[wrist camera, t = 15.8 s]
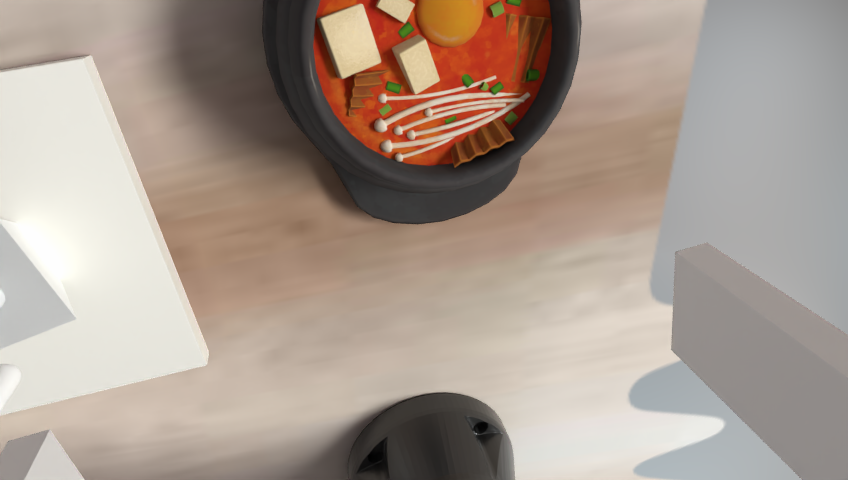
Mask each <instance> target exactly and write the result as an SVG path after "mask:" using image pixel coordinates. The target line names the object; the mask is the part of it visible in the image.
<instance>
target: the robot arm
mask: <svg viewBox="0 0 848 480" xmlns="http://www.w3.org/2000/svg"><path fill="white" fill-rule="evenodd" d="M671 350H672V351H673V352H674V353H675V354H676V355H677V356H678V357H679V358H680V359H681V360H682V361H683V362H684V363H685V364H686V365H687V366H688V367H689V368H690V369H691V370H692V371H693V372H694V373H695V374H696V375H697V376H698V377H699V378H700V379H701V380H702V381H703V382H704V383H705V384H706V385H707V386H708V387H709V388H710V389H711V390H712V391H713V392H714V393H715V394H716V395H717V396H718V397H719V398H720V399H721V400H722V401H724V403H725V404H726V405H727V406H728V407H729V408H730V409H732V410H733V412H734V413H735V414H737V416H738V417H739V418H741V420H742V421H743V422H745V423H746V424H747V425H748V426H749V427H750V428H751V429H752V430H753V431H754V432H755V433H756V434H757V435H758V436H759V437H760V438H761V439H762V440H763V441H764V442H765V443H766V444H767V445H768V446H769V447H770V448H771V449H772V450H773V451H774V452H775V453H776V454H777V455H778V456H779V457H780V458H781V459H782V460H783V461H784V462H785V463H786V464H787V465H788V466H789V467H790V468H791V469H792V470H793V471H794V472H795V473H796V474H797V475H798V476H799V477H800V478H801V479H802V480H848V335H847V334H846V333H844V332H843V331H841V330H840V329H838V328H837V327H835V326H834V325H832V324H831V323H829V322H827V321H826V320H824V319H823V318H821V317H820V316H818V315H817V314H815V313H814V312H812V311H811V310H809V309H808V308H806V307H804V306H803V305H802V304H800V303H799V302H797V301H795V300H794V299H792V298H791V297H789V296H788V295H786V294H785V293H783V292H782V291H780V290H779V289H777V288H776V287H774V286H773V285H771V284H770V283H768V282H766V281H765V280H763V279H762V278H760V277H759V276H757V275H756V274H754V273H752V272H751V271H750V270H748V269H747V268H745V267H744V266H742V265H741V264H739V263H737V262H736V261H734V260H733V259H731V258H730V257H728V256H727V255H725V254H724V253H722V252H721V251H719V250H718V249H716V248H715V247H713V246H711V245H710V244H708V243H704V244H700V245H697V246H693V247H690V248H686V249H683V250H680V251H676V252H675V272H674V296H673V321H672V345H671ZM348 475H349V480H515V471H514V457H513V449H512V445H511V441H510V439H509V436H508V434H507V432H506V430H505V428H504V426H503V424H502V422H501V420H500V418H499V416H498V415H497V414H496V413H495V412H494V411H493V410H492V409H491V408H490V407H489V406H487V405H486V404H484V403H483V402H481V401H479V400H477V399H474V398H472V397H468V396H464V395H459V394H447V393H442V394H431V395H425V396H420V397H417V398H413V399H410V400H407V401H405V402H402V403H400V404H398V405H396V406H394V407H392V408H390V409H388V410H387V411H385V412H384V413H382V414H381V415H379V416H378V417H377V418H376V419H374V420H373V421H372V422H371V423H370V424H369V425H368V426H367V427H366V428H365V429H364V430H363V432H362V433H361V434H360V436H359V437H358V438H357V440H356V442H355V444H354V446H353V448H352V450H351V453H350V456H349V461H348ZM0 480H85V479H84V478H83V477H82V475H81V474H80V472H79V471H78V469H77V468H76V466H75V465H74V464H73V462H72V461H71V459H70V458H69V456H68V455H67V453H66V452H65V451H64V449H63V448H62V446H61V445H60V443H59V442H58V440H57V439H56V438H55V436H54V435H53V433H52V432H51V430H46V431H43V432H39V433H36V434H32V435H29V436H25V437H22V438H18V439H15V440H11V441H8V442H7V444H6V446H5V447H4V449H3V451H2V453H1V454H0Z"/></svg>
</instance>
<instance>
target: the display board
mask: <svg viewBox="0 0 848 480" xmlns="http://www.w3.org/2000/svg"><path fill="white" fill-rule="evenodd" d="M0 219H3V220H7V221H11V222H15V223H17V224H18V226H19V227H20V228H21V229H22V231H23V232H24V233H25V235H26V236H27V237H28V238H29V240H30V241H31V242H32V244H33V245H34V246H35V247H36V249H37V250H38V251H39V253H40V254H41V255H42V256H43V258H44V259H45V260H46V262H47V263H48V264H49V265H50V267H51V268H52V269H53V271H54V272H55V273H56V274H57V276H58V277H59V278H60V280H61V282H62V285H63V287H64V289H65V292H66V294H67V297H68V299H69V302H70V304H71V306H72V309H73V311H74V314H75V316H76V318H77V319H76V320H73V321H71V322H68V323H66V324H63V325H61V326H58V327H56V328H53V329H50V330H48V331H45V332H43V333H40V334H38V335H35V336H33V337H30V338H28V339H25V340H23V341H20V342H17V343H15V344H12V345H10V346H7V347H5V348H2V349H0V364H11V365H14V366H16V367H18V368H19V370H20V371H21V379H20V382H19V384H18V385H17V387H16V388H15V390H14V392H13V393H12V395H11V396H10V398H9V399H8V401H7V402H6V404H5V406H4V407H3V409H2V410H1V412H0V415H4V414H8V413H13V412H17V411H21V410H25V409H29V408H33V407H37V406H41V405H45V404H49V403H54V402H58V401H62V400H66V399H70V398H74V397H78V396H82V395H86V394H91V393H95V392H99V391H103V390H107V389H111V388H115V387H119V386H123V385H128V384H132V383H136V382H140V381H144V380H148V379H152V378H156V377H160V376H164V375H169V374H173V373H177V372H181V371H185V370H189V369H193V368H197V367H201V366H206V365H207V362H208V357H209V351H208V348H207V346H206V343H205V341H204V338H203V336H202V333H201V331H200V328H199V326H198V323H197V321H196V318H195V316H194V313H193V311H192V308H191V306H190V303H189V301H188V298H187V296H186V293H185V290H184V288H183V285H182V283H181V280H180V278H179V275H178V273H177V270H176V268H175V265H174V263H173V260H172V258H171V255H170V253H169V250H168V248H167V245H166V243H165V240H164V238H163V235H162V233H161V230H160V227H159V225H158V222H157V220H156V217H155V215H154V212H153V210H152V207H151V205H150V202H149V200H148V197H147V195H146V192H145V190H144V187H143V185H142V182H141V180H140V177H139V175H138V172H137V169H136V167H135V164H134V162H133V159H132V157H131V154H130V152H129V149H128V147H127V144H126V142H125V139H124V137H123V134H122V132H121V129H120V127H119V124H118V122H117V119H116V117H115V114H114V111H113V109H112V106H111V104H110V101H109V99H108V96H107V94H106V91H105V89H104V86H103V84H102V81H101V79H100V76H99V74H98V71H97V69H96V66H95V64H94V61H93V59H92V56H91V55H88V56H82V57H76V58H70V59H64V60H58V61H52V62H46V63H40V64H34V65H28V66H22V67H16V68H10V69H4V70H0Z"/></svg>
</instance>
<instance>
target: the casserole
mask: <svg viewBox="0 0 848 480" xmlns="http://www.w3.org/2000/svg"><path fill="white" fill-rule="evenodd" d="M262 33H263V40H264V47H265V53H266V60H267V65H268V68H269V71H270V74H271V77H272V80H273V82H274V85H275V88H276V91H277V94H278V96H279V97H280V99H281V101H282V103H283V104H284V106H285V108H286V110H287V111H288V113H289V115H290V116H291V118H292V120H293V121H294V123H295V124H296V125H297V126H298V127H299V128H300V129H301V130H302V132H303V133H304V134H305V135H306V136H307V137H308V138H309V139H310V141H311V142H312V143H313V144H314V145H315V146H316V147H317V148H318V150H319V151H320V152H321V153H322V154H323V155H324V156H325V157H326V158H327V160H328V161H329V162H330V163H331V164H332V166H333V167H334V169H335V171H336V172H337V174H338V176H339V177H340V179H341V181H342V182H343V184H344V186H345V187H346V189H347V191H348V192H349V194H350V196H351V197H352V199H353V200H354V202H355V204H356V205H357V207H359V208H360V209H362V210H363V211H365V212H366V213H368V214H369V215H371V216H372V217H374V218H377V219H381V220H385V221H388V222H392V223H404V224H424V223H432V222H440V221H445V220H448V219H451V218H455V217H458V216H461V215H464V214H467V213H469V212H471V211H473V210H475V209H477V208H479V207H481V206H483V205H485V204H487V203H489V202H490V201H491V200H492V199H494V198H495V197H496V196H498V195H499V194H500V193H502V192H503V191H504V190H505V189H506V188H507V186H508V185H509V184H510V182H511V181H512V179H513V178H514V177H515V175H516V174H517V171H518V167H519V163H520V160H521V156H523V155H524V154H525V153H526V152H527V151H528V150H529V149H530V148H531V147H532V146H533V145H534V144H535V143H536V142H537V141H538V140H539V139H540V138H541V137H542V135H543V134H544V133H545V132H546V131H547V129H548V128H549V126H550V125H551V123H552V121H553V120H554V118H555V117H556V115H557V114H558V112H559V111H560V109H561V107H562V104H563V102H564V100H565V98H566V96H567V93H568V91H569V89H570V87H571V84H572V80H573V76H574V72H575V69H576V65H577V61H578V55H579V46H580V35H581V11H580V0H264V1H263V25H262Z"/></svg>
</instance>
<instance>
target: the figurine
mask: <svg viewBox="0 0 848 480" xmlns="http://www.w3.org/2000/svg"><path fill="white" fill-rule="evenodd" d="M76 319H77V318H76V316H75V314H74V311H73V309H72V306H71V304H70V302H69V299H68V297H67V294H66V292H65V289H64V287H63V285H62V282H61V280H60V278H59V277H58V276H57V274H56V273H55V272H54V271H53V269H52V268H51V267H50V265H49V264H48V263H47V262H46V260H45V259H44V258H43V256H42V255H41V254H40V253H39V251H38V250H37V249H36V247H35V246H34V245H33V244H32V242H31V241H30V240H29V238H28V237H27V236H26V235H25V233H24V232H23V231H22V229H21V228H20V227H19V226H18V224H17V223H15V222H11V221H7V220H3V219H0V349H2V348H5V347H7V346H10V345H12V344H15V343H17V342H20V341H23V340H25V339H28V338H30V337H33V336H35V335H38V334H40V333H43V332H45V331H48V330H50V329H53V328H56V327H58V326H61V325H63V324H66V323H68V322H71V321H73V320H76ZM20 379H21V371H20V370H19V368H18V367H16V366H14V365H11V364H0V412H1V410H2V409H3V407H4V406H5V404H6V402H7V401H8V399H9V398H10V396H11V395H12V393H13V392H14V390H15V388H16V387H17V385H18V384H19V382H20Z"/></svg>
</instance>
